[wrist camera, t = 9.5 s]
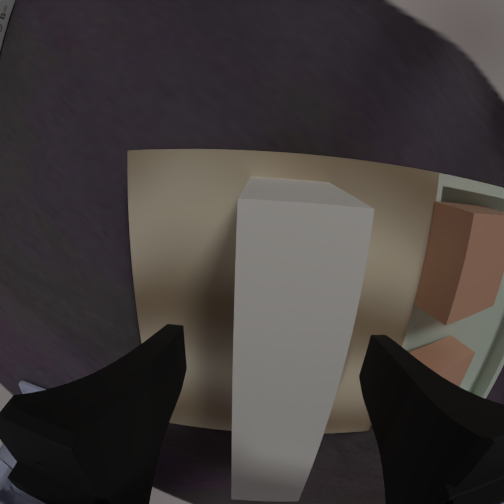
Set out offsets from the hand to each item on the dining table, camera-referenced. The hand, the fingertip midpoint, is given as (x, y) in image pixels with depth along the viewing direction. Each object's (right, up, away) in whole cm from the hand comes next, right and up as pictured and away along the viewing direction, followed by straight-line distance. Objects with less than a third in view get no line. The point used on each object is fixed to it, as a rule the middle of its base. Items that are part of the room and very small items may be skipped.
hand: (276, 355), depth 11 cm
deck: (0, +1, +4) cm, 4 cm away
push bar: (0, +1, +2) cm, 2 cm away
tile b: (+8, +4, +1) cm, 9 cm away
